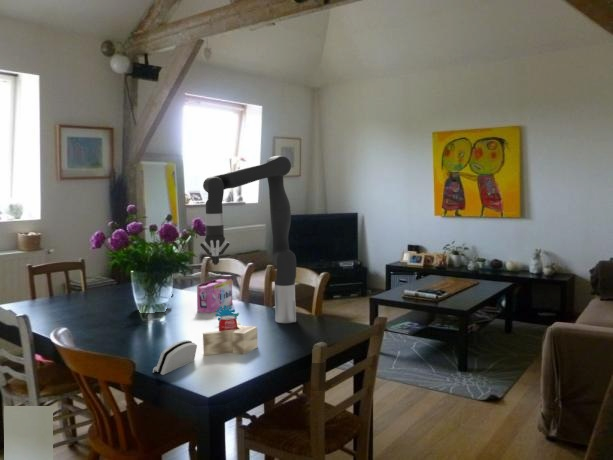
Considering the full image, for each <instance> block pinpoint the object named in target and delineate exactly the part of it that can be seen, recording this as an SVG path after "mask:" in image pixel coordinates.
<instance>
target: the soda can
mask: <svg viewBox="0 0 613 460" xmlns="http://www.w3.org/2000/svg"><path fill="white" fill-rule="evenodd" d="M237 321H238V320H237ZM237 321H236V319H235V316H232V315H226V316H222V317H220V321H218V331H225V330H234V329H237Z"/></svg>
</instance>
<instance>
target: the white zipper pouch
mask: <svg viewBox="0 0 613 460" xmlns="http://www.w3.org/2000/svg"><path fill="white" fill-rule="evenodd" d="M197 347H198V345H197V344H196V343H195V342H193V341H191V340H187V339H184V340H183V339H182V340H179V341H177V342H174V343H172V344H170V345H169V346H168V347H166V348H165V349H164V350H163V351H162V352H161V353H160V356H159V359H158V362H157V365H156V366H154V367H153V369H152V373H156V372H157V373H159V372H160V375H166V374H168V373H170V372H173V371H175V370H177V369H179V368H181V367H184V366H186V365H187V364H190V363H191V362H194V361H195V358H196V352H197Z"/></svg>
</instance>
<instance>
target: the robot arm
mask: <svg viewBox="0 0 613 460" xmlns="http://www.w3.org/2000/svg"><path fill="white" fill-rule="evenodd" d="M291 168H292V163H291V161H290V160H289V158H288V157H286V156H285V155H275V156H271V157H269V158H268V159H267V161H266V162H265V163H262V164H258V165H253V166H247V167H243V168H239V169H237V170H233V171H229V172H226V173H224V174H223V173H222V174H218V175H213V176H210V177H206V179H205V180H203V182H202V187H203V190H204V191H205V192H206V193H207V200H206V202H205V218H204V219H205V220H204V221H205V238H204V241H203V242H201V243H200V247H201V248H202V250H204V251H205V253H206V254H207V255H209V256H211V263H212V264H213V265H214V266H215V265H216V266H217V265H218V264H220V263H219V262H220V256H222V255H223V254H224V252H225V251H226V250H227V249H228V248H229V246H230V245H231V243H230V242H229V241H227V240H226V237H225V229H224V223H225V222H224V213H223V199H224V194H225V193H224V192H225V190H228V189H235V188H238V187H241V186H245V185H247V184H250V183H254V182H256V181H260V180H264V179H267V184H268V195H269V197H268V198H269V214H270V225H271V233H272V234H271V235H272V254H271V255H272V257H271V258H272V262H273V264H274V265H275V267H276V276H275V278H274V311H275V312H274V313H275V316H274V317H275V320H274V321H275V322H276V323H279V324H292V323H296V322H297V312H296V311H297V306H296V305H297V303H296V279H297V257H296V255H295V253H294V252H293V251H292V250H290V245H289V244H290V243H289V233H290V232H289V231H290V229H291V222H292V215H291V214H292V212H291V211H292V210H291V205H290V201H289V198H288V195H287V193H286V189H285V185H284V184H285V183H284V177H285V176H286V175H288V174H289V173H290V171H291ZM207 245H208V247H209V248H210V249H209V248H208V247H207ZM223 245H224V247H222V246H223ZM220 247H222V249H221V250H220Z"/></svg>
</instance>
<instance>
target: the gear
mask: <svg viewBox="0 0 613 460" xmlns="http://www.w3.org/2000/svg"><path fill="white" fill-rule="evenodd" d="M215 312H216V314H215V317H217V321H218V322H219V321H220V317H222V316H226V315H232V316H235V319H236V320H237V321H238V318H237V317H239V315H240V313H239V312H236V310H235V309H234V308H233V309H232V306H230V305H228V306H226V305H224V308H222V306H220V307H219V309H217V310H216V311H215Z"/></svg>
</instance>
